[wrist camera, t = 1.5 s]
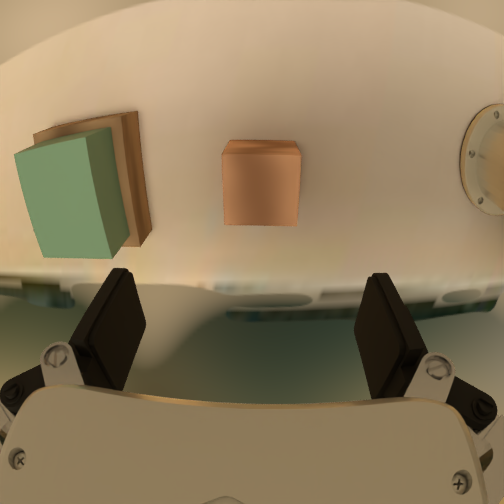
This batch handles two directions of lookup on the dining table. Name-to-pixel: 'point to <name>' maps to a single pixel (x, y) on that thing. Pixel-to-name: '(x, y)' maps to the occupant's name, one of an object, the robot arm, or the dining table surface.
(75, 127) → the tower base
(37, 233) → the tower top
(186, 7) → the dining table surface
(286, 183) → the terracotta cube
